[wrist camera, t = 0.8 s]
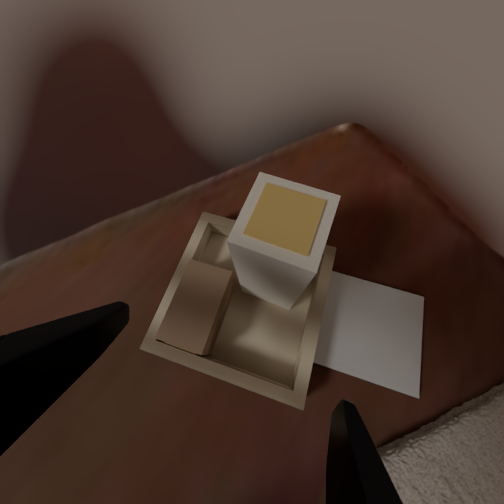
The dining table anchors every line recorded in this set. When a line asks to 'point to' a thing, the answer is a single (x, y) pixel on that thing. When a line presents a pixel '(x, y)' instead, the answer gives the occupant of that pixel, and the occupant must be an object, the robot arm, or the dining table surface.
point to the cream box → (280, 238)
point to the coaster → (372, 333)
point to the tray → (251, 325)
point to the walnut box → (197, 308)
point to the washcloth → (452, 456)
